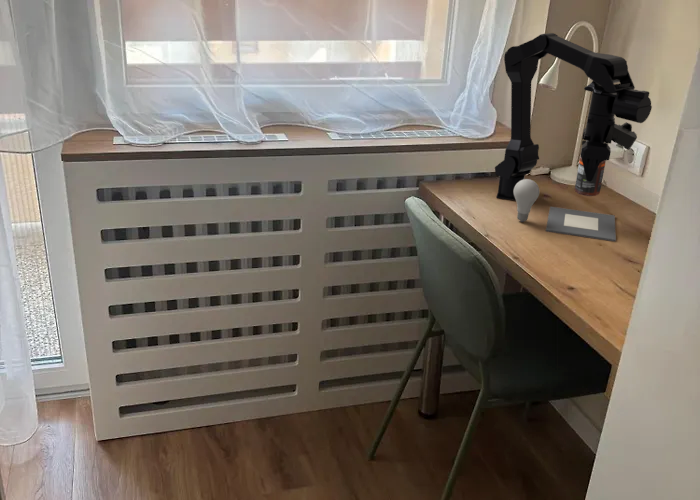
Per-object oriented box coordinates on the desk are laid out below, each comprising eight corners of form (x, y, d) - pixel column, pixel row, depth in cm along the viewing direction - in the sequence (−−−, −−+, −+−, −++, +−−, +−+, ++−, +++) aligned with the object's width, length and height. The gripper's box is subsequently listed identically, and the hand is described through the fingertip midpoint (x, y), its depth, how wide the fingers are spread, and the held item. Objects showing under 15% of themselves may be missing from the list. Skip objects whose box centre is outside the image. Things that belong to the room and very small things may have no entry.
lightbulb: (536, 219, 173) (543, 178, 168) (531, 228, 168) (538, 185, 163) (512, 215, 175) (518, 174, 170) (506, 223, 170) (512, 181, 165)
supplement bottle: (596, 189, 170) (605, 144, 165) (602, 197, 165) (611, 152, 160) (571, 187, 171) (579, 143, 166) (576, 196, 165) (584, 151, 160)
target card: (545, 231, 166) (545, 228, 166) (549, 208, 180) (550, 206, 180) (615, 241, 162) (615, 239, 162) (614, 217, 176) (614, 215, 176)
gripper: (640, 127, 149) (625, 194, 156) (636, 107, 165) (623, 169, 172) (586, 121, 152) (574, 187, 159) (588, 102, 168) (577, 163, 175)
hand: (589, 177), depth 166 cm, fingers closed on supplement bottle, 6 cm apart
